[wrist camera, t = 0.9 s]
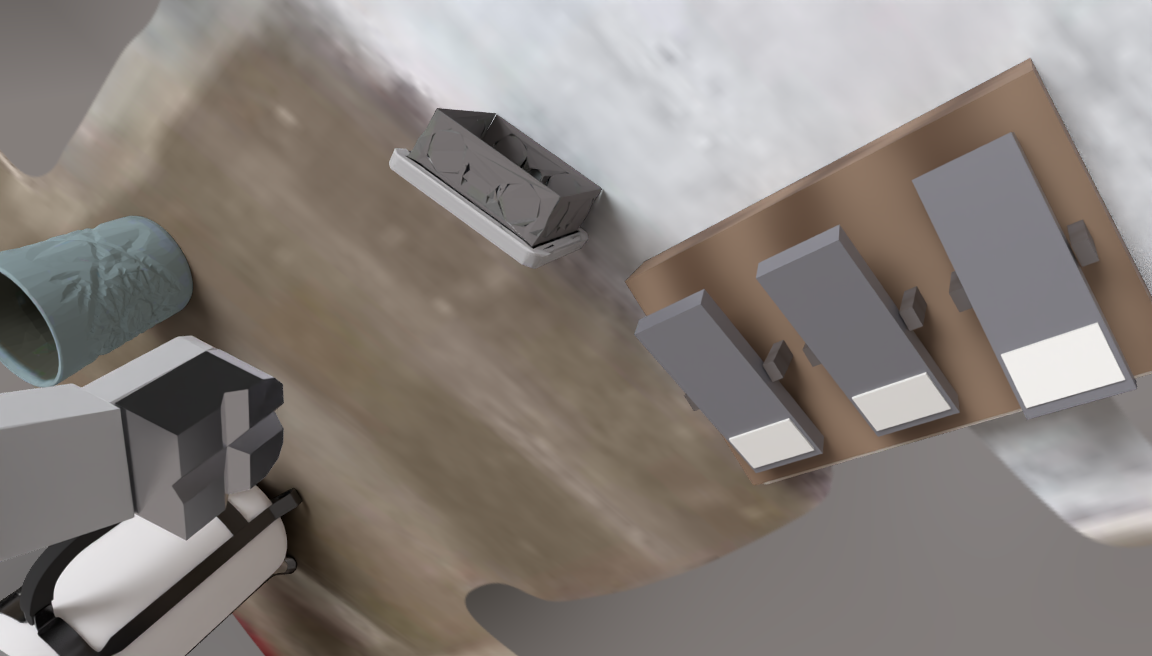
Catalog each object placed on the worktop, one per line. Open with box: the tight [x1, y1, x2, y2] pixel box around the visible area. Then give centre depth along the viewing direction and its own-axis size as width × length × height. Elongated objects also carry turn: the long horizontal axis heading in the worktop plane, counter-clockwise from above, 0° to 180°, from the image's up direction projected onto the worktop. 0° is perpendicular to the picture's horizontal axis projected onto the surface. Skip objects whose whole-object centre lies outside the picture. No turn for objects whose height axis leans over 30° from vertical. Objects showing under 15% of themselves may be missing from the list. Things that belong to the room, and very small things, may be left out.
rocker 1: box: [634, 289, 824, 473], centre depth 41 cm, size 4×11×1 cm, turn 36°
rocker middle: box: [756, 224, 960, 437], centre depth 37 cm, size 4×11×1 cm, turn 36°
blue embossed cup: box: [0, 216, 193, 388], centre depth 61 cm, size 10×10×12 cm
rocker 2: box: [912, 132, 1137, 420], centre depth 32 cm, size 4×11×1 cm, turn 36°
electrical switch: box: [389, 108, 602, 269], centre depth 43 cm, size 9×5×9 cm, turn 62°
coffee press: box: [0, 485, 302, 656], centre depth 62 cm, size 17×16×30 cm
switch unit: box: [625, 58, 1152, 486], centre depth 39 cm, size 21×14×5 cm
